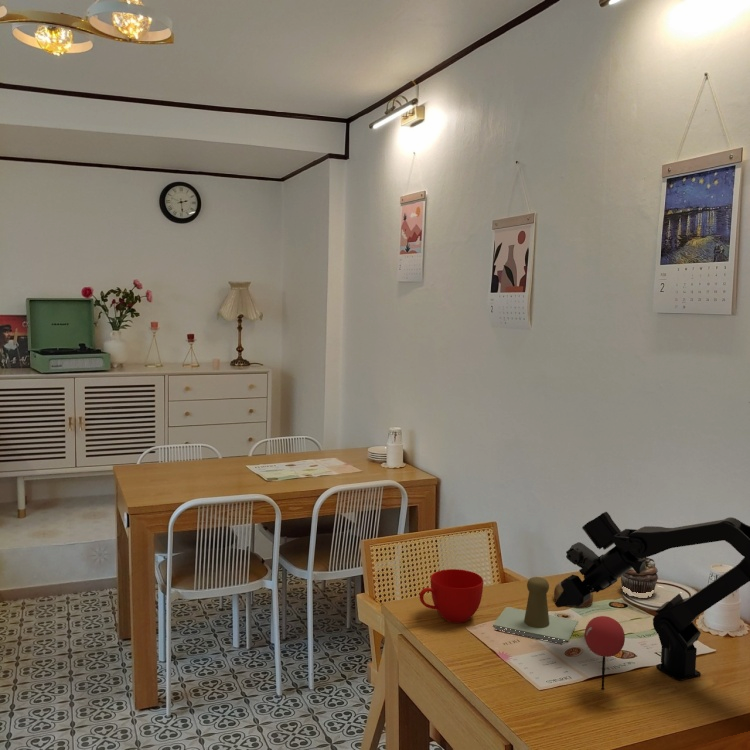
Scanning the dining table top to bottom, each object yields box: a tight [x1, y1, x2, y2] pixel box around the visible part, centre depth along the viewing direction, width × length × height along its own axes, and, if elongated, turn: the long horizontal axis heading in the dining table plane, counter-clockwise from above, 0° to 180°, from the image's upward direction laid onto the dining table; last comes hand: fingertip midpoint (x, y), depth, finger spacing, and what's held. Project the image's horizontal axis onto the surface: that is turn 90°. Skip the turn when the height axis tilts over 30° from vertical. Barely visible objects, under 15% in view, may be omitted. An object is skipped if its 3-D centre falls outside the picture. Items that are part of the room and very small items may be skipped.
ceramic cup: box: [419, 568, 484, 624], centre depth 184 cm, size 13×17×10 cm
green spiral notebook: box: [492, 606, 579, 642], centre depth 182 cm, size 18×12×1 cm, turn 64°
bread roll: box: [553, 578, 594, 608], centre depth 197 cm, size 10×10×8 cm
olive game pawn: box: [524, 576, 550, 628], centre depth 182 cm, size 6×6×11 cm
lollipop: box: [584, 615, 626, 690], centre depth 152 cm, size 8×8×15 cm
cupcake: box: [620, 557, 659, 593], centre depth 203 cm, size 10×10×10 cm
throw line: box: [494, 627, 564, 644], centre depth 176 cm, size 16×2×1 cm, turn 64°
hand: (565, 599), depth 177 cm, fingers open, 9 cm apart
